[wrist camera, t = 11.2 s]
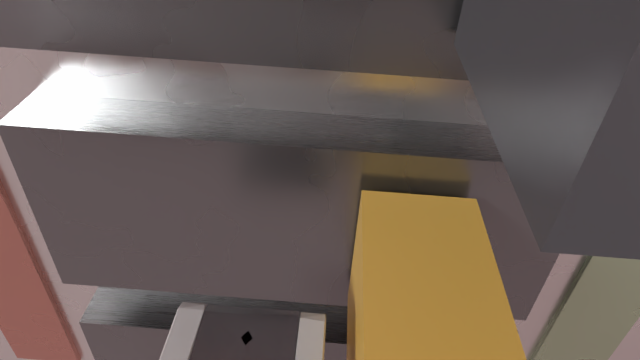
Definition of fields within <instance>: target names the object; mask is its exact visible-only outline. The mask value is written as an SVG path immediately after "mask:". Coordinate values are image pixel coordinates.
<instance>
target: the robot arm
mask: <svg viewBox="0 0 640 360" xmlns="http://www.w3.org/2000/svg"><path fill="white" fill-rule="evenodd" d="M325 332H326V314H320V313H305V312H301V315H300V311H288V310H274V309H260V308H252V309H250V308H240V307H230V306H221V305H211V304H203V303H191V302H182V303H181V305H180V306H179V308H178V309H177V312H176V314H175V317H174V320H173V323H172V325H171V328H170V331H169V334H168V336H167V339H166V342H165V345H164V348H163V350H162V353H161V356H160V359H159V360H324V349H325Z"/></svg>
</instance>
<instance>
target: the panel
mask: <svg viewBox="0 0 640 360" xmlns="http://www.w3.org/2000/svg"><path fill="white" fill-rule="evenodd" d="M463 1H464V0H0V360H159V359H160V356H161V353H162V350H163V348H164V345H165V342H166V339H167V336H168V334H169V331H170V328H171V325H172V323H173V320H174V317H175V314H176V312H177V309H178V308H179V306H180V305H181V303H182V302H191V303H203V304H211V305H221V306H230V307H240V308H250V309H252V308H260V309H274V310H288V311H300V315H301V312H305V313H320V314H326V332H325V349H324V360H347V309H348V290H349V283H350V275H351V267H352V260H353V252H354V245H355V237H356V229H357V222H358V214H359V206H360V199H361V191H362V190H367V191H380V192H393V193H406V194H419V195H433V196H446V197H459V198H472V199H477V202H478V205H479V208H480V212H481V215H482V218H483V221H484V225H485V228H486V231H487V234H488V237H489V241H490V244H491V247H492V250H493V254H494V257H495V260H496V263H497V266H498V270H499V273H500V276H501V279H502V282H503V286H504V289H505V292H506V295H507V299H508V302H509V305H510V308H511V311H512V315H513V318H514V321H515V324H516V328H517V331H518V334H519V337H520V340H521V344H522V347H523V350H524V353H525V357H526V360H640V260H638V259H625V258H612V257H599V256H586V255H573V254H560V253H548V252H540V249H539V247H538V244H537V242H536V240H535V237H534V235H533V232H532V230H531V228H530V225H529V223H528V220H527V218H526V216H525V213H524V211H523V209H522V206H521V204H520V201H519V199H518V197H517V194H516V192H515V189H514V187H513V185H512V182H511V180H510V178H509V175H508V173H507V170H506V168H505V166H504V163H503V161H502V158H501V156H500V154H499V151H498V149H497V146H496V144H495V142H494V139H493V137H492V135H491V132H490V130H489V127H488V125H487V123H486V120H485V118H484V115H483V113H482V111H481V108H480V106H479V104H478V101H477V99H476V96H475V94H474V92H473V89H472V87H471V84H470V82H469V80H468V77H467V75H466V72H465V70H464V68H463V65H462V63H461V61H460V58H459V56H458V53H457V51H456V49H455V46H454V40H455V36H456V31H457V27H458V23H459V18H460V14H461V9H462V5H463Z"/></svg>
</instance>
